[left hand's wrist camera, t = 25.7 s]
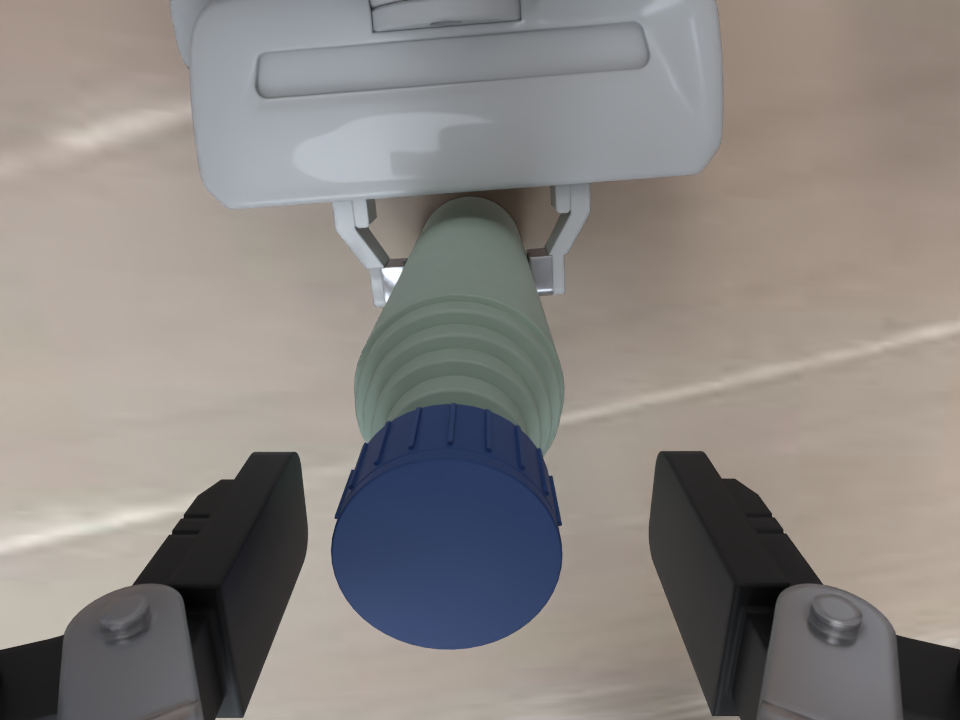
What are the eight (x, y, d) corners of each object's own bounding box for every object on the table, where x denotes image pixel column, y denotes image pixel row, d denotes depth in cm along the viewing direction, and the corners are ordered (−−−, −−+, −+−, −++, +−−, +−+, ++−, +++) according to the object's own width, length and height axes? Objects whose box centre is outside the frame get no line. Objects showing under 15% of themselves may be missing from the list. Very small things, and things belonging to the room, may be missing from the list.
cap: (312, 512, 12) (283, 583, 11) (423, 360, 11) (411, 408, 10) (476, 605, 13) (475, 685, 11) (593, 470, 12) (614, 535, 10)
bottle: (457, 315, 36) (414, 700, 12) (399, 234, 34) (224, 500, 11) (540, 261, 35) (662, 570, 11) (483, 175, 33) (491, 327, 10)
